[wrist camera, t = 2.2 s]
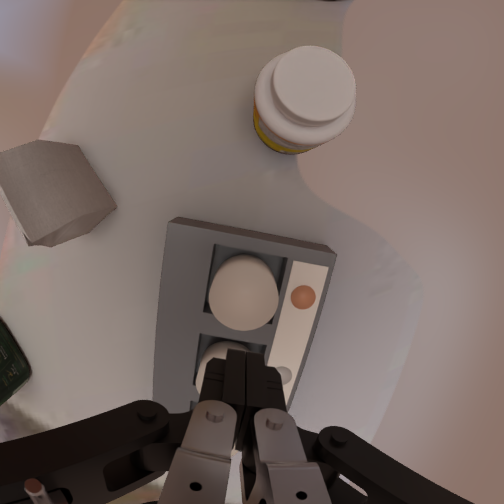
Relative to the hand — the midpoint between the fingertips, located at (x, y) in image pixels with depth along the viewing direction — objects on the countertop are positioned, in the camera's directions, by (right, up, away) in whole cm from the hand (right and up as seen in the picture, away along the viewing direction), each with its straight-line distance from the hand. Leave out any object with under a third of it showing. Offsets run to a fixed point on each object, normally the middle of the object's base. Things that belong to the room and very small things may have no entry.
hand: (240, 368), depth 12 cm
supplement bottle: (+3, +15, +10) cm, 18 cm away
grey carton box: (-14, +10, +11) cm, 21 cm away
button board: (-1, -4, +14) cm, 15 cm away
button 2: (0, +2, +10) cm, 10 cm away
